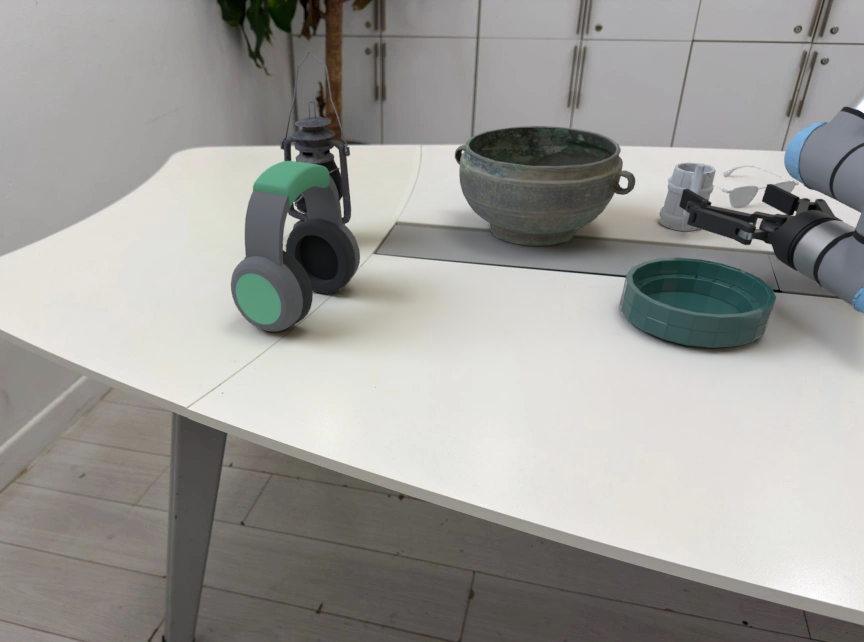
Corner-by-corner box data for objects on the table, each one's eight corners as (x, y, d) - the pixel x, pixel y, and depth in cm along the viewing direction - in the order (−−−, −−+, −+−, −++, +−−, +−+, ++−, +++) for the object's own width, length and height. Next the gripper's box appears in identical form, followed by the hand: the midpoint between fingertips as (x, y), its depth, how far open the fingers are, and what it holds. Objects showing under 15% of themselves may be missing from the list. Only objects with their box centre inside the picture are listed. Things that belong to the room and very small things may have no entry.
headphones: (296, 346, 87) (284, 193, 76) (229, 327, 91) (208, 180, 80) (366, 288, 100) (364, 151, 89) (304, 274, 105) (295, 143, 94)
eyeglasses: (722, 209, 124) (729, 188, 122) (663, 181, 138) (667, 161, 136) (794, 201, 126) (801, 179, 124) (728, 174, 141) (733, 154, 139)
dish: (771, 308, 92) (783, 274, 89) (752, 367, 80) (765, 330, 77) (638, 280, 100) (645, 248, 97) (602, 330, 88) (609, 295, 85)
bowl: (412, 233, 118) (414, 145, 110) (488, 194, 135) (495, 115, 126) (586, 279, 101) (605, 180, 92) (650, 228, 117) (670, 139, 109)
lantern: (273, 248, 114) (254, 54, 98) (303, 227, 122) (290, 44, 105) (338, 259, 110) (330, 57, 93) (365, 236, 118) (362, 46, 101)
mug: (702, 218, 120) (721, 149, 114) (708, 242, 111) (729, 169, 104) (657, 214, 123) (672, 147, 116) (659, 238, 113) (676, 166, 107)
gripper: (719, 280, 88) (643, 223, 105) (896, 267, 90) (792, 213, 107) (736, 225, 84) (654, 175, 101) (921, 213, 86) (809, 166, 103)
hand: (725, 195), depth 104 cm, fingers open, 13 cm apart
